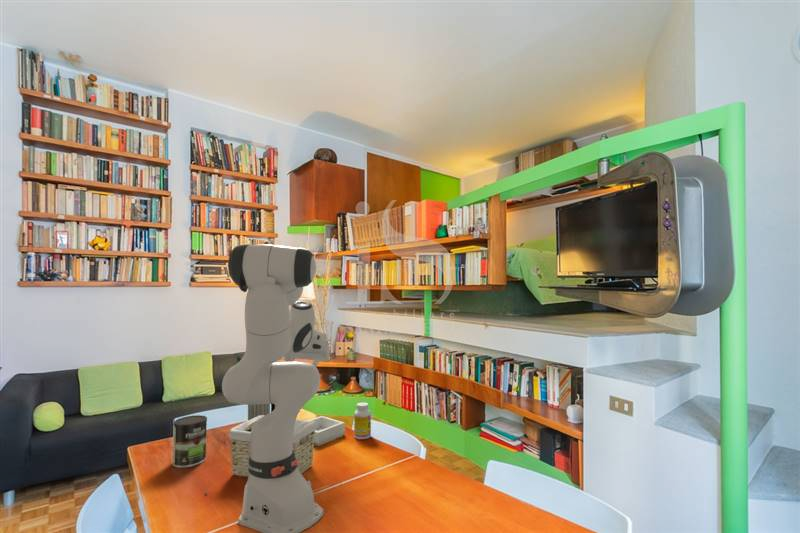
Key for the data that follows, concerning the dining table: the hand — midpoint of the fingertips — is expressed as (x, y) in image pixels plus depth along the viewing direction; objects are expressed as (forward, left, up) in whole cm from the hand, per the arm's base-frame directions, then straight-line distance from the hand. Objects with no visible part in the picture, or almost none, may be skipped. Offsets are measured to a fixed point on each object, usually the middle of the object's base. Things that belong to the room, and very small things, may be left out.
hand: (302, 364), depth 152 cm
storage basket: (-10, +20, -30) cm, 38 cm away
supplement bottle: (-14, -19, -30) cm, 38 cm away
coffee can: (+19, +33, -30) cm, 49 cm away
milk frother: (+25, +4, -30) cm, 39 cm away
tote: (0, -9, -30) cm, 31 cm away
